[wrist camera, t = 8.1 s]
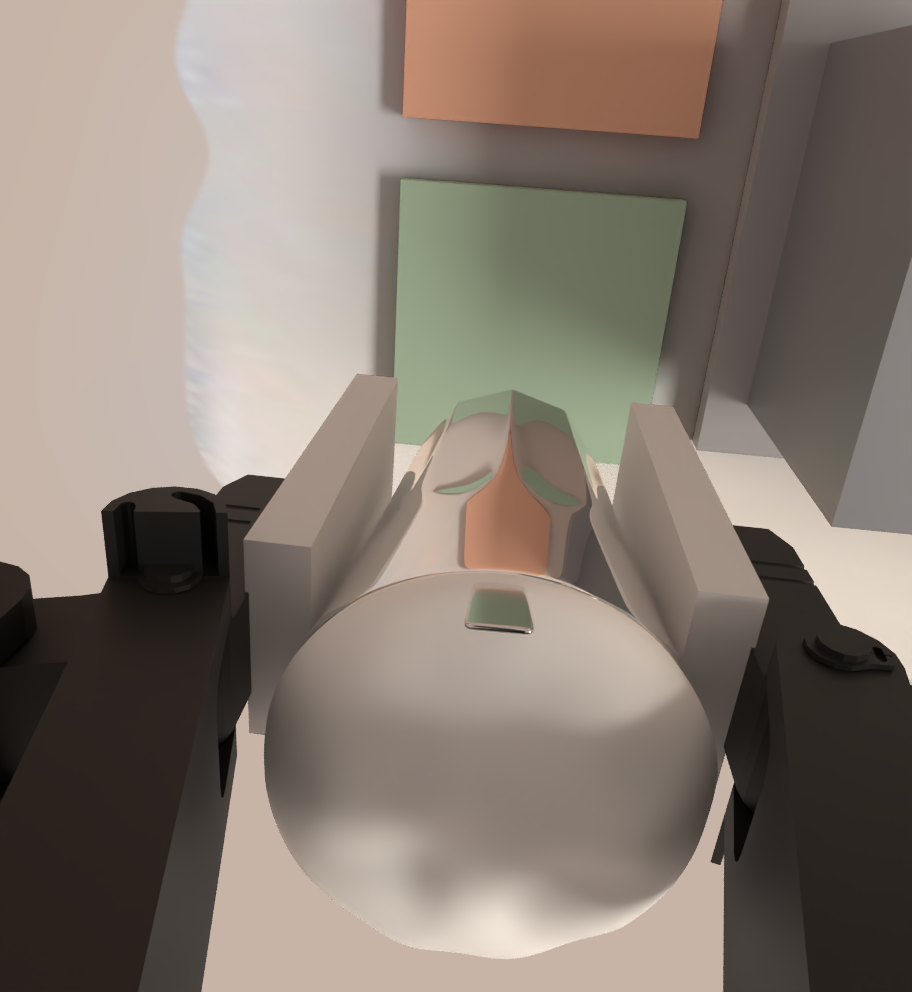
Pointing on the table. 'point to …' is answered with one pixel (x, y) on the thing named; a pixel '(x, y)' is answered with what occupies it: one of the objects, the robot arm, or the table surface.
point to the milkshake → (492, 706)
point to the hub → (825, 268)
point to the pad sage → (531, 302)
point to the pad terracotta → (562, 63)
